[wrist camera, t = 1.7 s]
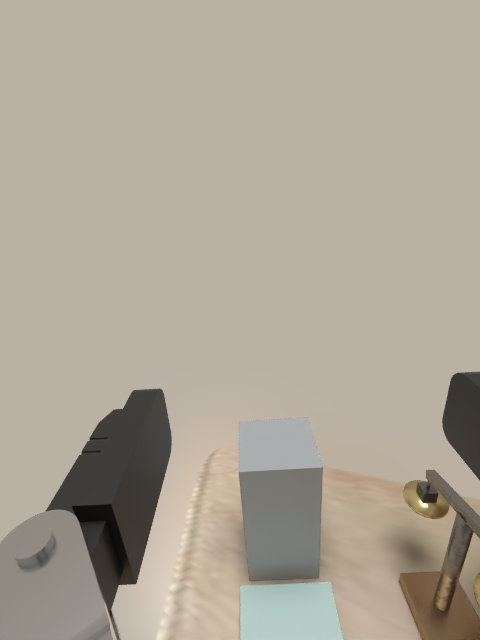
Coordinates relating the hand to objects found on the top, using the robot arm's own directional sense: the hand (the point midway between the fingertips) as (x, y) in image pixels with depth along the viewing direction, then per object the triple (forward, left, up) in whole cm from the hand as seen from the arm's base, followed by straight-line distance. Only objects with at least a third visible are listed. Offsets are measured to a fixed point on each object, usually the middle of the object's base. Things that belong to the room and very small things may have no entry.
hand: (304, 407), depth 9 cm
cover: (0, -11, -24) cm, 26 cm away
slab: (0, -5, -24) cm, 24 cm away
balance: (-11, -6, -24) cm, 27 cm away
